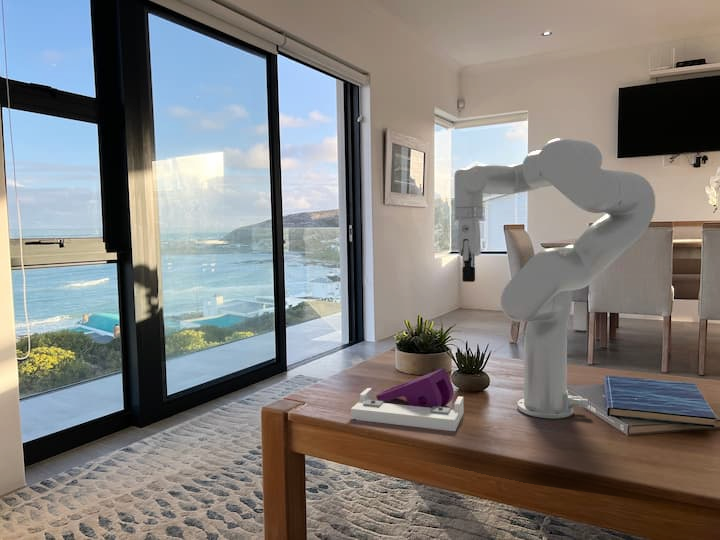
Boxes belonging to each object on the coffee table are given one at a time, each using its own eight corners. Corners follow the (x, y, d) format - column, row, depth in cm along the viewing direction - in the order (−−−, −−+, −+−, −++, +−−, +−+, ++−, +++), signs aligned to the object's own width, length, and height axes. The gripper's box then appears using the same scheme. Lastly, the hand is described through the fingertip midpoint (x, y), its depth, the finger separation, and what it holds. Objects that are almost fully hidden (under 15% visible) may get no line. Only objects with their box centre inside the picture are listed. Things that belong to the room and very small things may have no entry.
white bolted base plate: (463, 413, 120) (463, 396, 120) (455, 431, 110) (455, 413, 109) (367, 403, 129) (367, 387, 128) (351, 419, 118) (350, 402, 118)
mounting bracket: (382, 431, 126) (443, 412, 116) (369, 399, 127) (428, 377, 118) (400, 419, 134) (458, 400, 124) (387, 388, 135) (444, 367, 126)
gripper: (479, 213, 131) (479, 284, 132) (485, 214, 145) (485, 279, 146) (449, 214, 133) (450, 283, 135) (459, 215, 147) (459, 278, 149)
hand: (468, 281), depth 140 cm, fingers closed
